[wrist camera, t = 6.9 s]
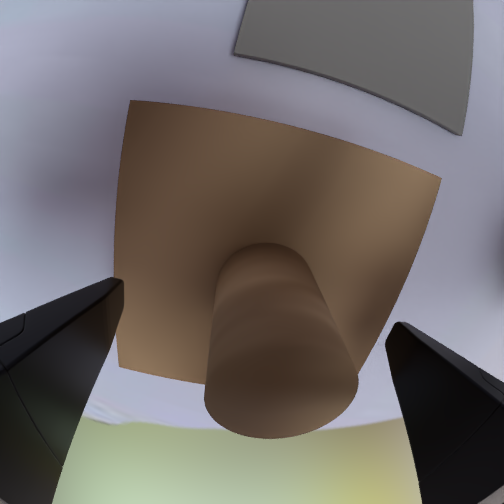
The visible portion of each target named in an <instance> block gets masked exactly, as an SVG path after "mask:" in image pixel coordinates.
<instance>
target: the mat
mask: <svg viewBox="0 0 504 504" xmlns="http://www.w3.org/2000/svg"><path fill="white" fill-rule="evenodd" d="M473 34H474V15H473V0H248V3H247V7H246V10H245V14H244V17H243V21H242V24H241V28H240V31H239V35H238V39H237V43H236V46H235V50H234V56H239V57H245V58H250V59H255V60H260V61H265V62H269V63H274V64H278V65H282V66H286V67H290V68H294V69H298V70H301V71H305V72H308V73H312V74H315V75H318V76H322V77H325V78H328V79H331V80H334V81H337V82H340V83H343V84H346V85H349V86H352V87H354V88H357V89H360V90H362V91H365V92H368V93H370V94H373V95H375V96H378V97H380V98H382V99H385V100H387V101H389V102H392V103H394V104H396V105H398V106H401V107H403V108H405V109H407V110H409V111H411V112H413V113H416V114H418V115H420V116H422V117H424V118H426V119H428V120H429V121H431V122H433V123H435V124H437V125H439V126H441V127H443V128H444V129H446V130H448V131H450V132H452V133H453V134H455V135H459V136H462V133H463V128H464V122H465V117H466V111H467V104H468V97H469V89H470V81H471V71H472V58H473Z"/></svg>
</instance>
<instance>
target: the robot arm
mask: <svg viewBox="0 0 504 504" xmlns="http://www.w3.org/2000/svg"><path fill="white" fill-rule="evenodd" d="M123 309H124V281H123V280H122V279H119V278H114V277H110V278H107V279H105V280H102V281H100V282H97V283H95V284H92V285H90V286H87V287H85V288H82V289H80V290H77V291H75V292H73V293H70V294H68V295H65V296H63V297H60V298H58V299H56V300H53V301H51V302H48V303H46V304H44V305H41V306H39V307H37V308H34V309H32V310H30V311H27V312H26V314H25V313H22V314H20V315H18V316H16V317H13V318H11V319H8V320H6V321H4V322H1V323H0V504H52V501H53V498H54V494H55V491H56V488H57V484H58V481H59V477H60V474H61V472H62V466H63V465H64V462H65V459H66V456H67V453H68V450H69V448H70V445H71V442H72V439H73V436H74V434H75V431H76V428H77V426H78V423H79V421H80V418H81V416H82V413H83V411H84V408H85V406H86V403H87V401H88V398H89V396H90V394H91V391H92V389H93V386H94V384H95V382H96V380H97V377H98V375H99V373H100V370H101V368H102V366H103V364H104V362H105V359H106V357H107V355H108V353H109V350H110V348H111V345H112V342H113V339H114V336H115V333H116V330H117V327H118V324H119V321H120V318H121V315H122V312H123ZM385 348H386V352H387V357H388V361H389V366H390V371H391V376H392V380H393V384H394V387H395V391H396V394H397V397H398V401H399V404H400V408H401V411H402V415H403V419H404V422H405V426H406V430H407V434H408V438H409V442H410V446H411V450H412V454H413V458H414V463H415V468H416V472H417V477H418V481H419V488H420V494H421V498H422V504H504V382H502V381H500V380H499V379H497V378H495V377H494V376H492V375H490V374H489V373H487V372H486V371H484V370H482V369H481V368H478V367H477V366H476V365H474V364H473V363H471V362H470V361H468V360H467V359H465V358H463V357H462V356H460V355H459V354H457V353H455V352H454V351H452V350H451V349H449V348H447V347H446V346H444V345H443V344H441V343H439V342H438V341H436V340H435V339H433V338H431V337H430V336H428V335H426V334H425V333H423V332H422V331H420V330H418V329H417V328H415V327H413V326H412V325H410V324H409V323H407V322H396V323H395V324H394V326H393V328H392V330H391V331H390V333H389V335H388V337H387V339H386V342H385Z"/></svg>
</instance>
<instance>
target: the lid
mask: <svg viewBox="0 0 504 504" xmlns="http://www.w3.org/2000/svg"><path fill="white" fill-rule="evenodd" d="M441 179H442V178H440V177H438V176H436V175H434V174H431V173H429V172H427V171H424V170H422V169H420V168H417V167H415V166H413V165H410V164H408V163H405V162H403V161H400V160H397V159H395V158H392V157H390V156H387V155H384V154H382V153H379V152H376V151H373V150H370V149H368V148H365V147H362V146H359V145H356V144H353V143H350V142H346V141H343V140H340V139H337V138H334V137H330V136H327V135H324V134H320V133H317V132H313V131H309V130H306V129H302V128H298V127H294V126H290V125H286V124H282V123H278V122H274V121H269V120H265V119H260V118H256V117H251V116H246V115H241V114H236V113H230V112H225V111H219V110H213V109H206V108H200V107H193V106H185V105H177V104H169V103H159V102H149V101H136V100H130V104H129V110H128V115H127V121H126V127H125V133H124V139H123V146H122V153H121V161H120V169H119V179H118V189H117V201H116V215H115V235H114V278H119V279H122V280H123V281H124V309H123V312H122V315H121V318H120V321H119V324H118V327H117V330H116V339H117V350H118V361H119V367H122V368H126V369H130V370H134V371H138V372H142V373H147V374H151V375H156V376H161V377H165V378H170V379H176V380H181V381H187V382H192V383H198V384H205V393H204V402H205V406H206V409H207V411H208V413H209V414H210V416H211V417H212V418H213V419H214V420H215V421H216V422H217V423H218V424H220V425H221V426H223V427H224V428H226V429H228V430H230V431H232V432H234V433H237V434H240V435H244V436H248V437H254V438H263V439H276V438H286V437H293V436H297V435H301V434H304V433H308V432H310V431H313V430H316V429H318V428H320V427H322V426H324V425H326V424H328V423H329V422H331V421H332V420H334V419H335V418H337V417H338V416H339V415H340V414H342V413H343V412H344V411H345V410H346V409H347V407H348V406H349V405H350V404H351V402H352V401H353V399H354V397H355V395H356V392H357V389H358V373H359V371H360V370H361V368H362V366H363V364H364V363H365V361H366V359H367V357H368V356H369V354H370V352H371V350H372V348H373V346H374V345H375V343H376V341H377V339H378V337H379V335H380V333H381V331H382V329H383V327H384V326H385V324H386V322H387V320H388V318H389V315H390V313H391V311H392V309H393V307H394V305H395V303H396V301H397V299H398V296H399V294H400V292H401V290H402V288H403V285H404V283H405V281H406V278H407V276H408V274H409V271H410V269H411V267H412V264H413V262H414V259H415V257H416V254H417V251H418V249H419V246H420V244H421V241H422V238H423V235H424V233H425V230H426V227H427V224H428V221H429V218H430V215H431V212H432V209H433V206H434V203H435V200H436V196H437V193H438V190H439V186H440V183H441Z"/></svg>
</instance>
